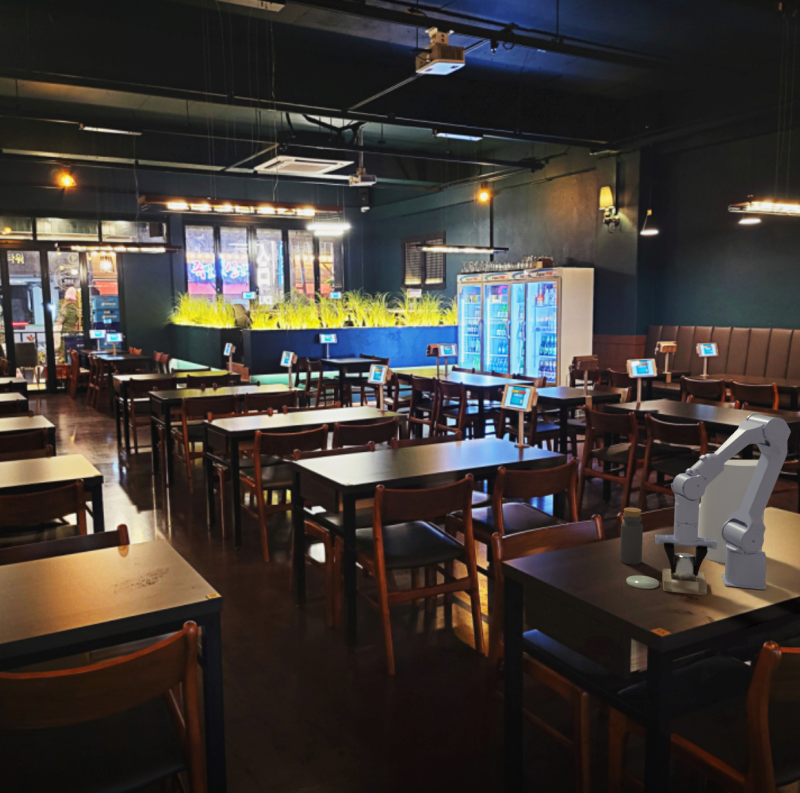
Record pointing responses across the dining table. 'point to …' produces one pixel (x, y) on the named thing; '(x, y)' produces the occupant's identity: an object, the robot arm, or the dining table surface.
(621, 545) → the bottle
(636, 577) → the coaster
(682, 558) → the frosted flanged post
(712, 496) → the cylinder
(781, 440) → the robot arm
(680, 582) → the collar
